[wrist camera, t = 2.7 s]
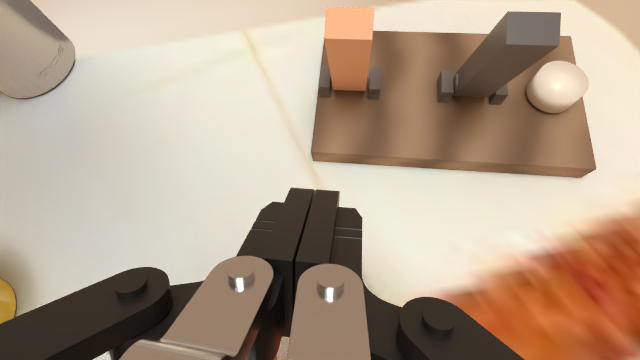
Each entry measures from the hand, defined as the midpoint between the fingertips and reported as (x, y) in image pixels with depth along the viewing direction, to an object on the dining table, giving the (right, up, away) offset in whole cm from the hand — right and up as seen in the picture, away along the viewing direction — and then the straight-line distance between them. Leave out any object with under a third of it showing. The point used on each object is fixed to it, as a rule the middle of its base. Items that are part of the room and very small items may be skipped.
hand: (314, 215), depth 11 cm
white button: (+21, +9, +20) cm, 30 cm away
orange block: (+3, +10, +21) cm, 24 cm away
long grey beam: (+14, +10, +20) cm, 26 cm away
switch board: (+12, +9, +23) cm, 28 cm away
